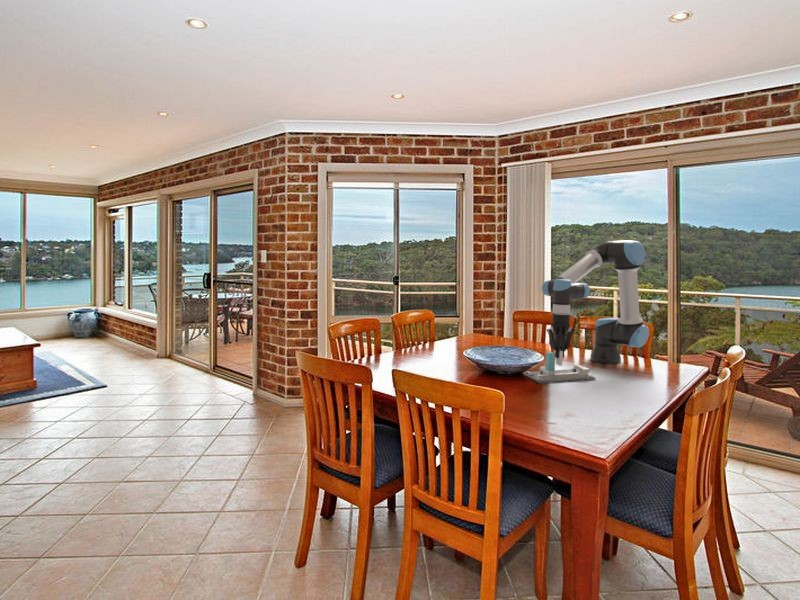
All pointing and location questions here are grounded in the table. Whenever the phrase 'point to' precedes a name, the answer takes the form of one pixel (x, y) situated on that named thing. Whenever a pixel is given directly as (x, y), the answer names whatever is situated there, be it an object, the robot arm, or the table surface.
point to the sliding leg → (549, 364)
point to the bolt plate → (534, 376)
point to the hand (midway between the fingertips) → (559, 364)
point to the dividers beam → (567, 374)
